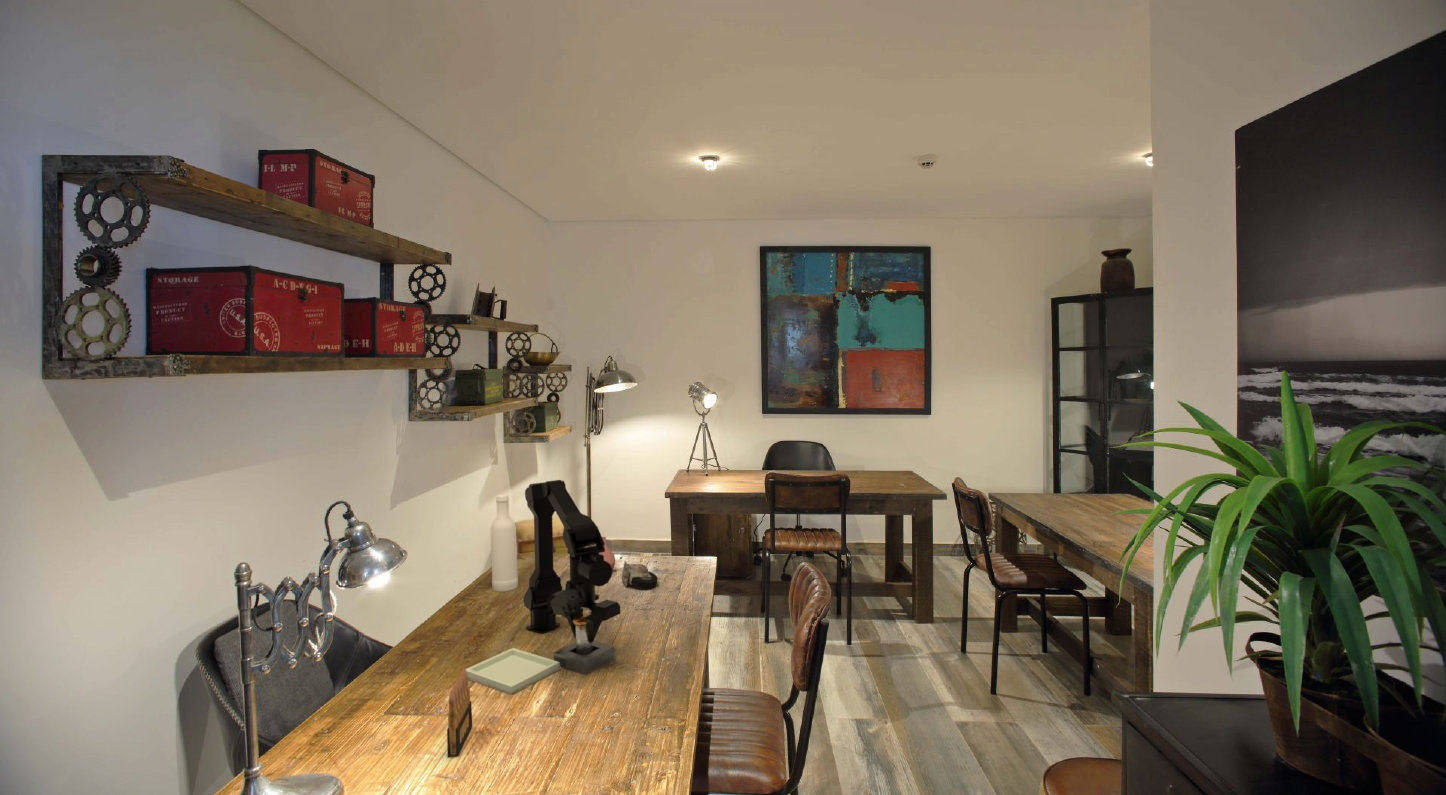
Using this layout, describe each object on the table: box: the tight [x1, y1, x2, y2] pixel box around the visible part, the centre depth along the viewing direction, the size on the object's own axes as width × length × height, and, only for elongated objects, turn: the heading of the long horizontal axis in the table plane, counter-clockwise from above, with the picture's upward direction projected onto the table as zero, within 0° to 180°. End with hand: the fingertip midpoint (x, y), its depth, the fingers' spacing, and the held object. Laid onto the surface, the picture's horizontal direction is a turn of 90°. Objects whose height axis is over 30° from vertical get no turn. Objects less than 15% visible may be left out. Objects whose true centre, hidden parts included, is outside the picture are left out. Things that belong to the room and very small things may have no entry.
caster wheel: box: [620, 560, 659, 591], centre depth 216 cm, size 7×11×10 cm
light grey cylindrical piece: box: [573, 613, 593, 656], centre depth 160 cm, size 5×5×10 cm
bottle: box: [490, 494, 519, 593], centre depth 215 cm, size 8×8×30 cm
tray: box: [465, 647, 561, 696], centre depth 154 cm, size 16×14×2 cm
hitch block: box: [553, 640, 616, 676], centre depth 160 cm, size 10×10×3 cm
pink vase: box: [599, 536, 616, 570], centre depth 231 cm, size 8×8×12 cm
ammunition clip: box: [446, 667, 473, 758], centre depth 126 cm, size 11×2×12 cm, turn 7°
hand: (584, 640), depth 160 cm, fingers closed on light grey cylindrical piece, 4 cm apart
